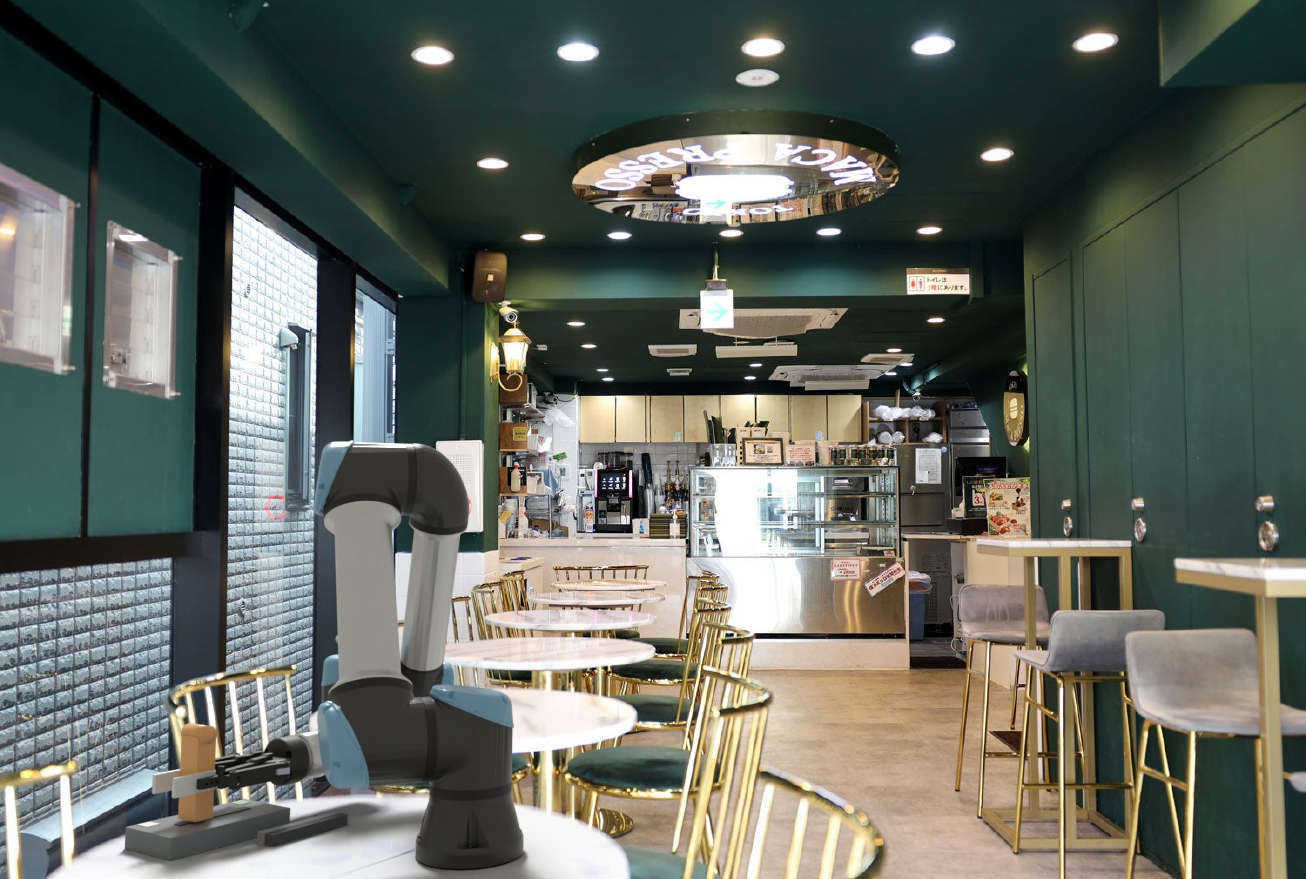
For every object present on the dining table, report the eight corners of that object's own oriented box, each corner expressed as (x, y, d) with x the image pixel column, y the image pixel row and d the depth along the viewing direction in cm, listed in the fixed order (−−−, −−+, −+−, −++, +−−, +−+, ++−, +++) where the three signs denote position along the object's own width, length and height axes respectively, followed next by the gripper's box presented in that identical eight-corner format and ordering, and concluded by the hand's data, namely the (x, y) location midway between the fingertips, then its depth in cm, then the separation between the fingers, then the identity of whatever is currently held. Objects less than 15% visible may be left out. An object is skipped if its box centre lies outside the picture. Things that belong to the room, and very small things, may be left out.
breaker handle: (215, 818, 156) (218, 724, 157) (196, 822, 153) (200, 727, 154) (194, 813, 158) (198, 721, 160) (176, 817, 156) (179, 724, 157)
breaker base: (289, 827, 163) (290, 806, 163) (170, 860, 146) (171, 836, 146) (244, 818, 169) (244, 797, 169) (124, 848, 152) (125, 825, 152)
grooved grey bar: (347, 824, 165) (347, 814, 165) (272, 846, 153) (272, 835, 153) (332, 821, 167) (333, 811, 167) (257, 842, 155) (257, 831, 155)
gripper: (331, 788, 167) (199, 821, 147) (261, 775, 176) (127, 805, 156) (333, 739, 167) (201, 765, 148) (262, 729, 176) (130, 753, 157)
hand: (164, 785), depth 152 cm, fingers closed on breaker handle, 4 cm apart
